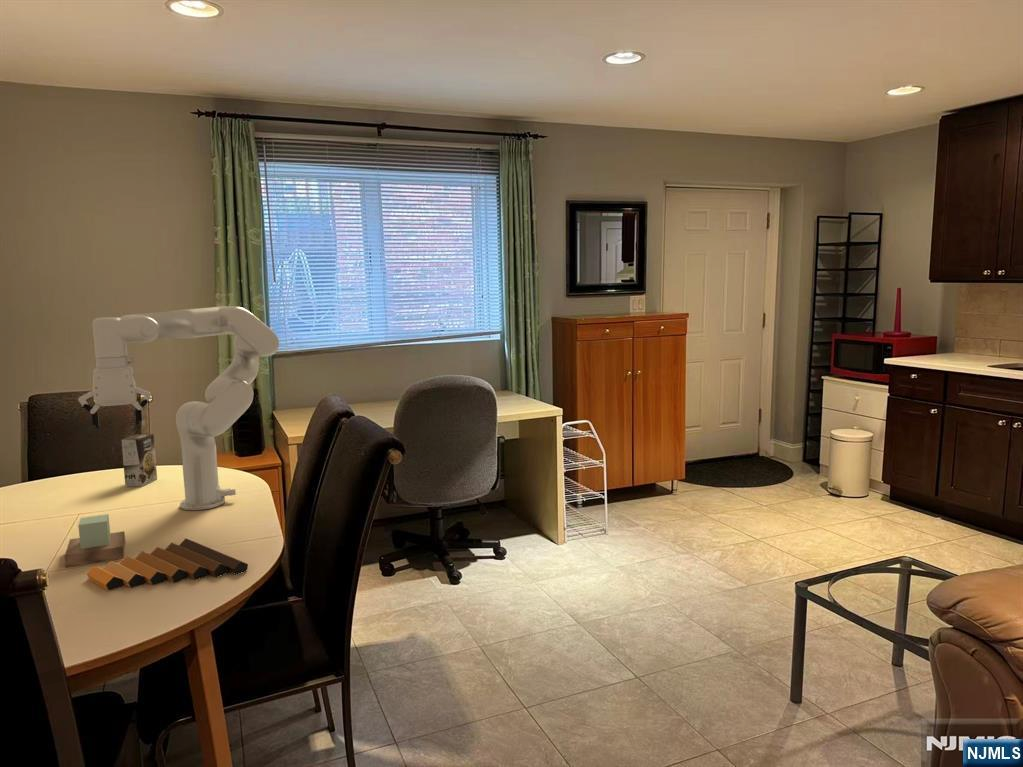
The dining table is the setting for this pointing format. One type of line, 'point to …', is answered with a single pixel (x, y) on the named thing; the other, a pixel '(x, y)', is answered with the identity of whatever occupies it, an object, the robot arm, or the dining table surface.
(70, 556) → the walnut stand
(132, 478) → the coffee box
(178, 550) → the pan flute
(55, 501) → the dining table surface
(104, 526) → the sage cube
